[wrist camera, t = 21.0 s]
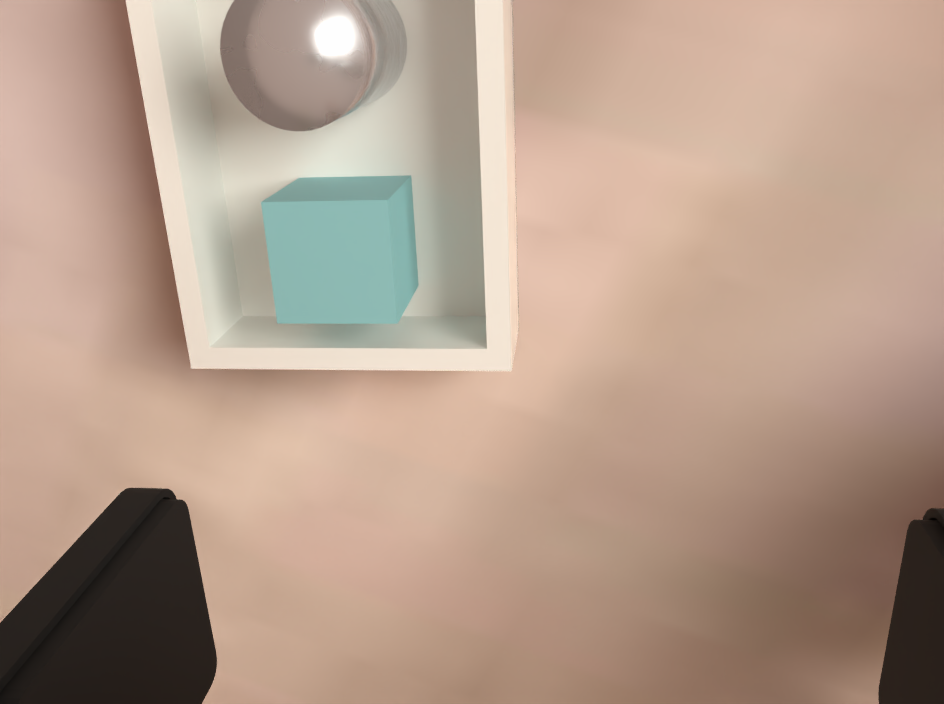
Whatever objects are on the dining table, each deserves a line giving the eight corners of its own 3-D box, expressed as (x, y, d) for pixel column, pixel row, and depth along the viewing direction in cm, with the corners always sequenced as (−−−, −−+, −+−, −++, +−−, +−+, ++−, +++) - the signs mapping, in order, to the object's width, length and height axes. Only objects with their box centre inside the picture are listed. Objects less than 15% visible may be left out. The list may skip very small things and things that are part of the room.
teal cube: (411, 175, 37) (387, 200, 32) (418, 285, 39) (397, 323, 34) (299, 177, 37) (260, 202, 33) (311, 286, 39) (277, 323, 35)
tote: (510, -102, 33) (499, -119, 29) (518, 328, 40) (511, 371, 35) (170, -83, 35) (108, -96, 30) (233, 328, 42) (191, 368, 37)
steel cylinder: (399, -29, 34) (352, -34, 27) (413, 101, 35) (373, 125, 29) (279, -17, 34) (206, -19, 28) (299, 110, 36) (235, 136, 30)
